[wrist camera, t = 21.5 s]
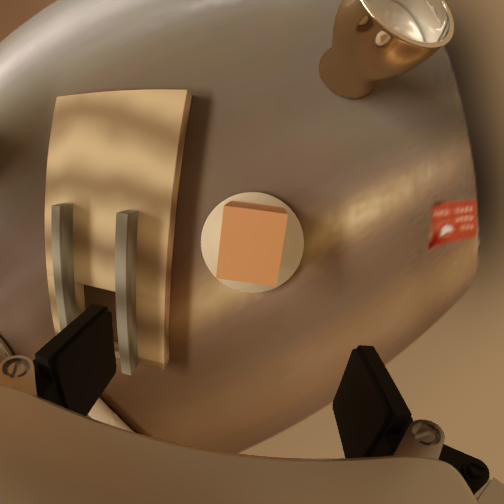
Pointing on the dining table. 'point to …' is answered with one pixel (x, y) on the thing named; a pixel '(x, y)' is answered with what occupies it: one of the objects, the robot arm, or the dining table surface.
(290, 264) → the coaster
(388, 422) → the robot arm
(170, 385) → the dining table surface
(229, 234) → the block
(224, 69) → the dining table surface
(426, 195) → the dining table surface
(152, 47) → the dining table surface
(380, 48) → the beer glass
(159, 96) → the board
